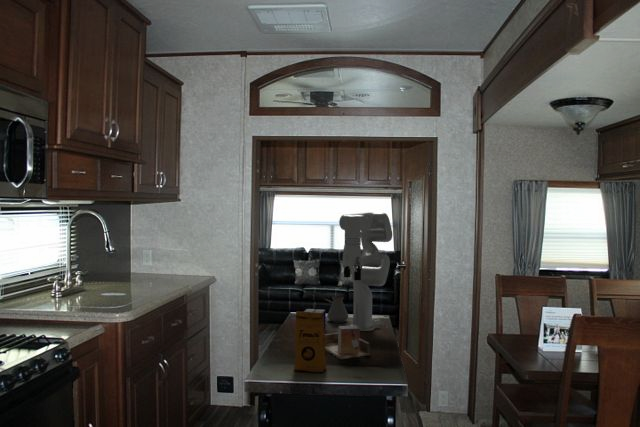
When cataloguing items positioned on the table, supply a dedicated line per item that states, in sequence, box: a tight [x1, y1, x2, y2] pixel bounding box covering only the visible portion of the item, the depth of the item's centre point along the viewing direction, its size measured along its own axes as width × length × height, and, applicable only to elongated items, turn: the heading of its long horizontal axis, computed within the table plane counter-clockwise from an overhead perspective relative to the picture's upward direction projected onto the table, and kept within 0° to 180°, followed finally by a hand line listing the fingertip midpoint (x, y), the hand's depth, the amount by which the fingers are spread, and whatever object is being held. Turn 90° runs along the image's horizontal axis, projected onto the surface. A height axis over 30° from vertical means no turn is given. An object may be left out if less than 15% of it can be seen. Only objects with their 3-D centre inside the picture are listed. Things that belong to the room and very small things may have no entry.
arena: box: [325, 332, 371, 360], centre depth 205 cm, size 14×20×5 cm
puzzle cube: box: [303, 308, 327, 331], centre depth 237 cm, size 10×10×10 cm
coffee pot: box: [309, 291, 349, 323], centre depth 260 cm, size 21×12×15 cm, turn 76°
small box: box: [337, 325, 360, 354], centre depth 199 cm, size 8×6×10 cm
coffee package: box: [293, 311, 328, 373], centre depth 181 cm, size 10×12×22 cm
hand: (352, 278), depth 223 cm, fingers open, 9 cm apart
